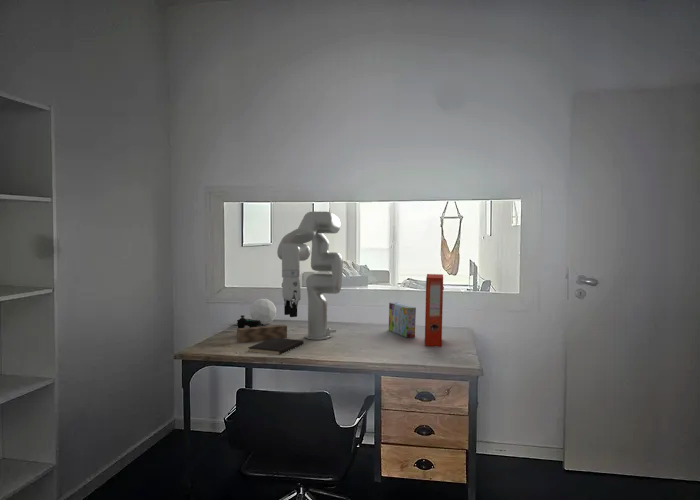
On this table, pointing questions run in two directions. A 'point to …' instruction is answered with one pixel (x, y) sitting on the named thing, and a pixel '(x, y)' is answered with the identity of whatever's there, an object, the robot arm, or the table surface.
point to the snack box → (402, 319)
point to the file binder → (434, 310)
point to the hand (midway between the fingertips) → (290, 315)
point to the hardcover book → (276, 345)
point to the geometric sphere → (263, 311)
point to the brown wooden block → (261, 333)
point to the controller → (247, 322)
